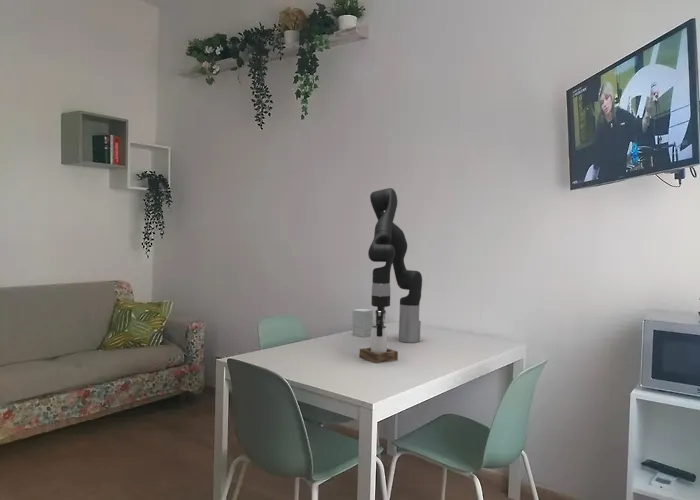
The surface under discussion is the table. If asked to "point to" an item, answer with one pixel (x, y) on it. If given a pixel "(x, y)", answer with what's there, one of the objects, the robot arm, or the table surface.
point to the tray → (378, 355)
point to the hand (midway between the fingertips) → (380, 334)
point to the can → (378, 340)
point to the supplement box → (362, 322)
